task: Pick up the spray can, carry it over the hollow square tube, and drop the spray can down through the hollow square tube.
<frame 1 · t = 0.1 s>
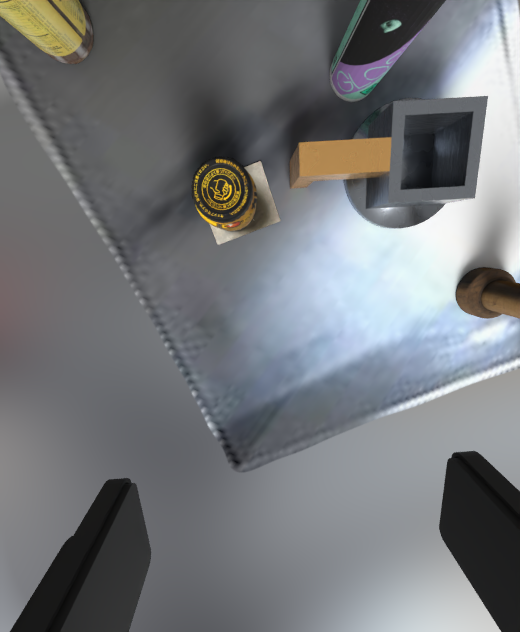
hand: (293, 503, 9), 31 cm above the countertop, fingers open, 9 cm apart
brown wooden tall piece: (477, 291, 40), on the countertop
spray can: (352, 75, 33), on the countertop
sauce bottle: (67, 35, 31), on the countertop
condiment: (238, 204, 36), on the countertop
hollow square tube: (400, 168, 35), on the countertop
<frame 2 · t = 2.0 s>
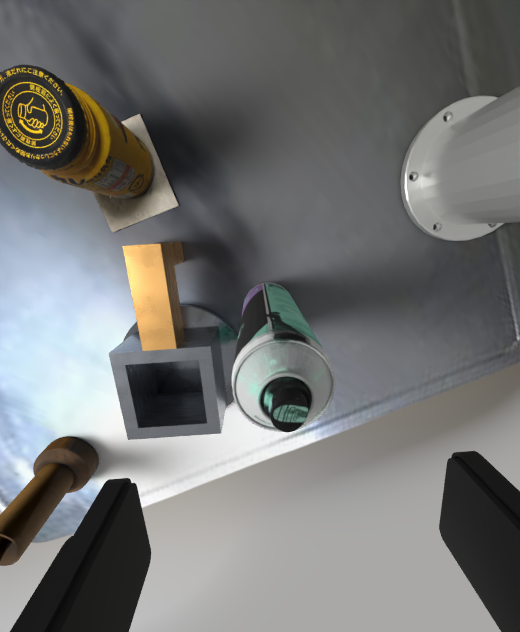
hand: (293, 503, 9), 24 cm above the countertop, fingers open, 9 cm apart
brown wooden tall piece: (73, 456, 37), on the countertop
spray can: (268, 306, 32), on the countertop
condiment: (127, 176, 28), on the countertop
hollow square tube: (185, 362, 33), on the countertop
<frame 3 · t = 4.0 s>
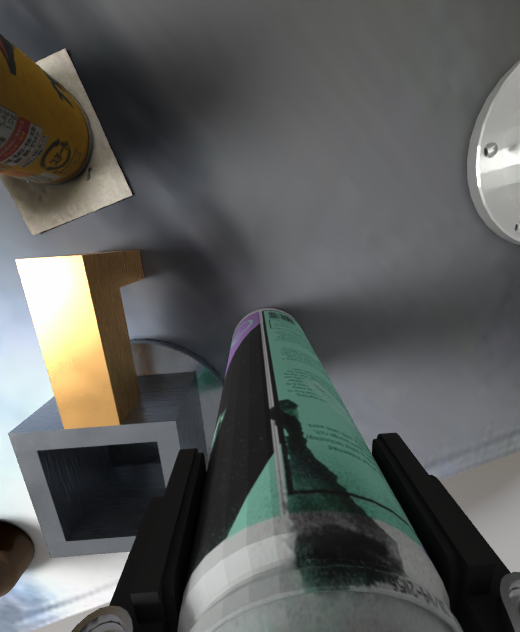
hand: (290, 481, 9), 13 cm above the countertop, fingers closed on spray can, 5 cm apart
spray can: (267, 341, 22), on the countertop, touching gripper
condiment: (52, 150, 18), on the countertop
hollow square tube: (150, 420, 23), on the countertop
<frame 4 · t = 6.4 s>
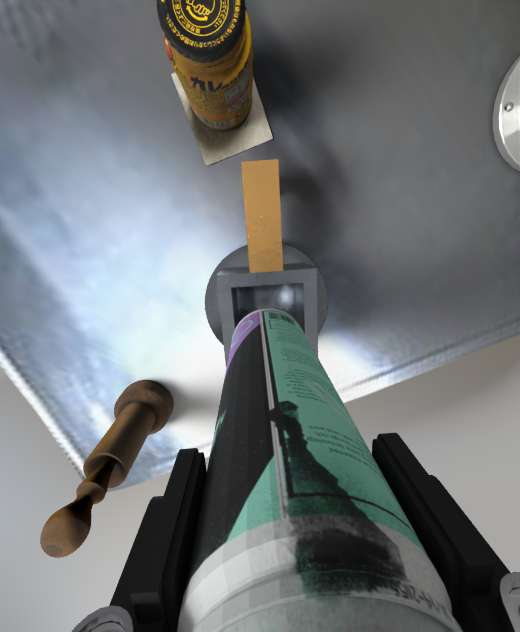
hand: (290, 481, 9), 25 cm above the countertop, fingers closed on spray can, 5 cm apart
brown wooden tall piece: (148, 401, 37), on the countertop
spray can: (267, 341, 22), point 12 cm above the countertop, touching gripper
condiment: (223, 109, 29), on the countertop
hollow square tube: (266, 303, 34), on the countertop
when the fingers open (15 cm above the countertop, at t = 9.1 s): spray can stays where it is, resting on hollow square tube.
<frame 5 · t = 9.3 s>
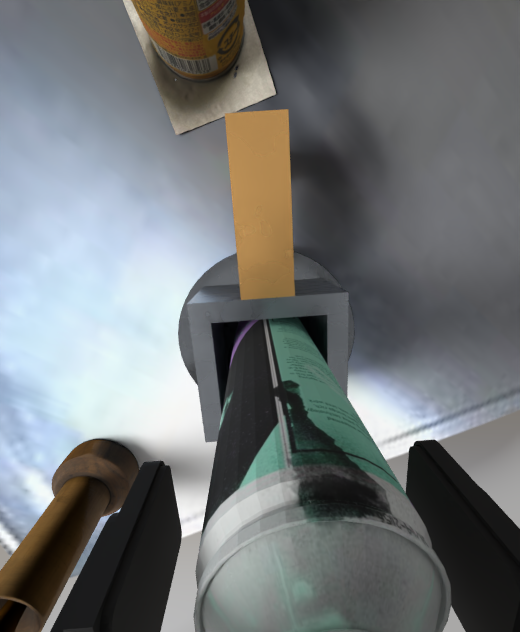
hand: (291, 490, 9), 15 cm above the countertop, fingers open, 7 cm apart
brown wooden tall piece: (104, 466, 27), on the countertop
spray can: (269, 335, 23), point 1 cm above the countertop, touching hollow square tube
condiment: (202, 48, 19), on the countertop
hollow square tube: (266, 334, 24), on the countertop
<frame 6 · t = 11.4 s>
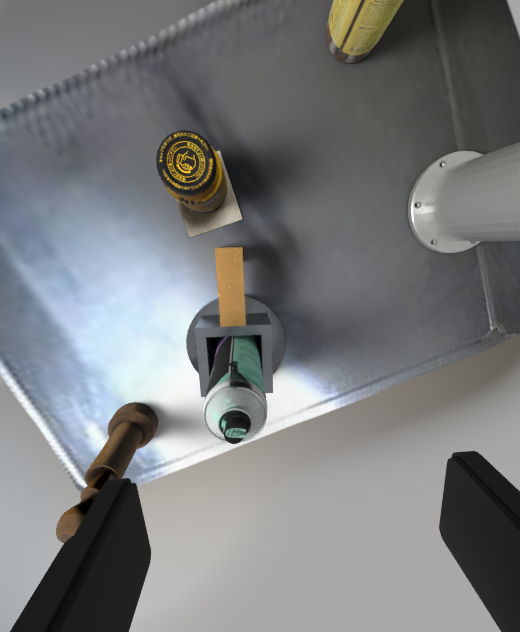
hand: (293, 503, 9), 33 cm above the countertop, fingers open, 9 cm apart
brown wooden tall piece: (136, 420, 44), on the countertop
spray can: (237, 343, 41), point 1 cm above the countertop, touching hollow square tube
sauce bottle: (348, 35, 33), on the countertop
condiment: (204, 195, 37), on the countertop
hollow square tube: (236, 342, 42), on the countertop
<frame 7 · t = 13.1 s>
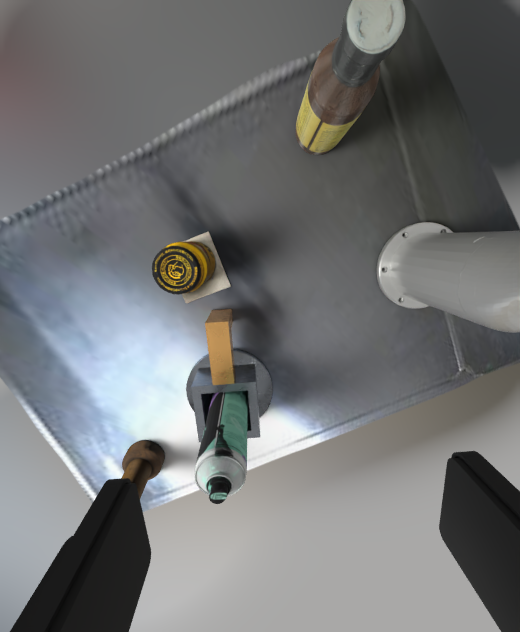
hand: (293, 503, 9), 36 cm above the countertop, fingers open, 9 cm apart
brown wooden tall piece: (146, 454, 51), on the countertop
spray can: (231, 389, 47), point 1 cm above the countertop, touching hollow square tube
sauce bottle: (316, 131, 38), on the countertop
condiment: (197, 268, 43), on the countertop
hollow square tube: (230, 388, 48), on the countertop
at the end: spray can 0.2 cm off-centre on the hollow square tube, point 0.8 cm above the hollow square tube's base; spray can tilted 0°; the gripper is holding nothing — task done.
